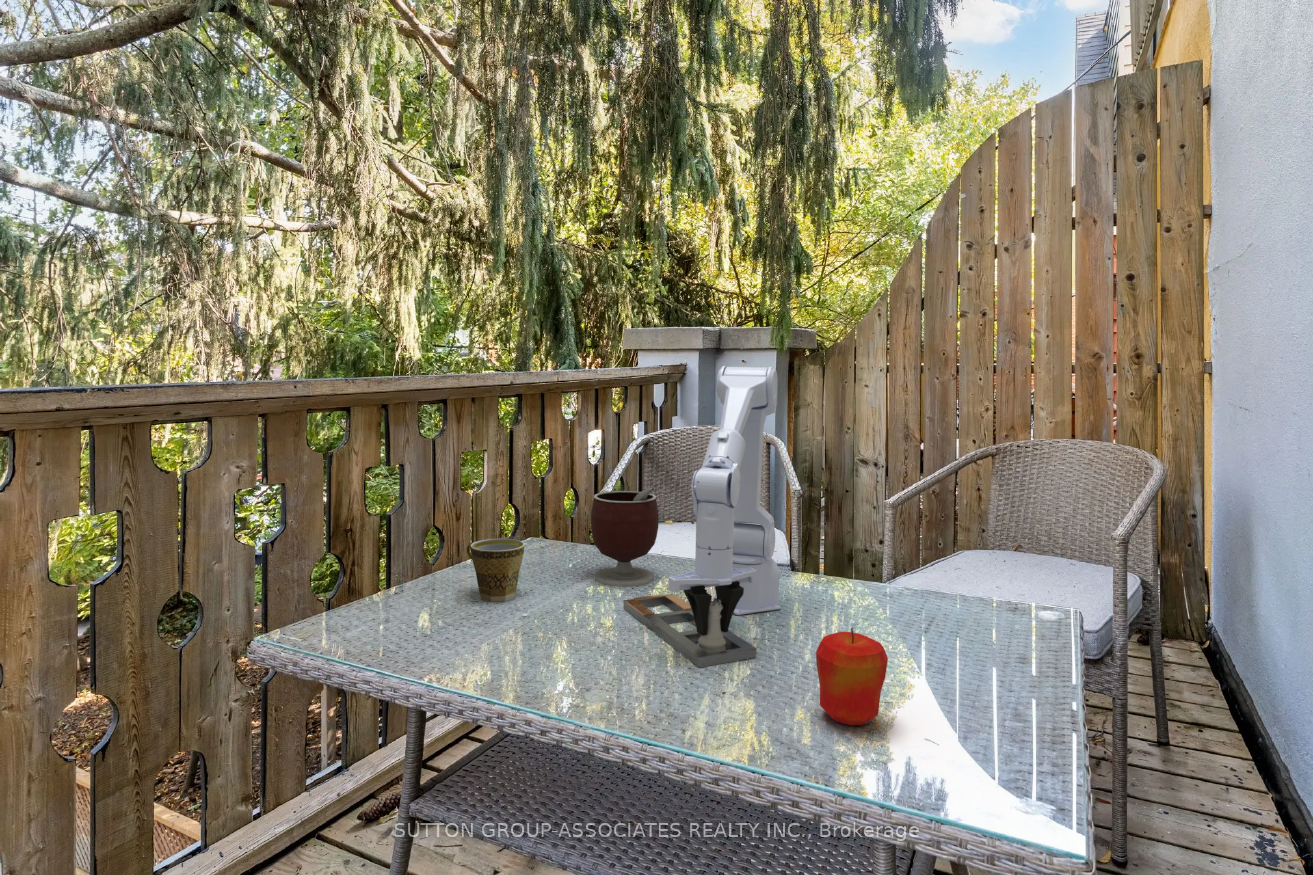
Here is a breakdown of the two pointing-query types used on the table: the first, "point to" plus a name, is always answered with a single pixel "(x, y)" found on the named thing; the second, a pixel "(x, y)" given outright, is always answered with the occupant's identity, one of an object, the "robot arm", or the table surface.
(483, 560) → the ceramic cup
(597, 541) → the mate gourd
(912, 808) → the table surface
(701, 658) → the hole rail
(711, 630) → the rook chess piece
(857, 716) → the apple
